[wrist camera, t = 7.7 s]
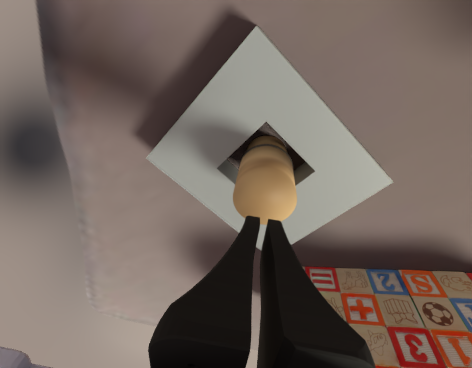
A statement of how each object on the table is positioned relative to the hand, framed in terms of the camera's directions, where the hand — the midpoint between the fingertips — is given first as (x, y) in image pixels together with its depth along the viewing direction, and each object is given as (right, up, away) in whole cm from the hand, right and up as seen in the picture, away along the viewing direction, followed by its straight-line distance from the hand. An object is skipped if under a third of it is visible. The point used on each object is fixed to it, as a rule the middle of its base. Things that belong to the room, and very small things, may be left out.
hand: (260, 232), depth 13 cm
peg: (+1, +5, +8) cm, 9 cm away
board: (+1, +5, +8) cm, 9 cm away
